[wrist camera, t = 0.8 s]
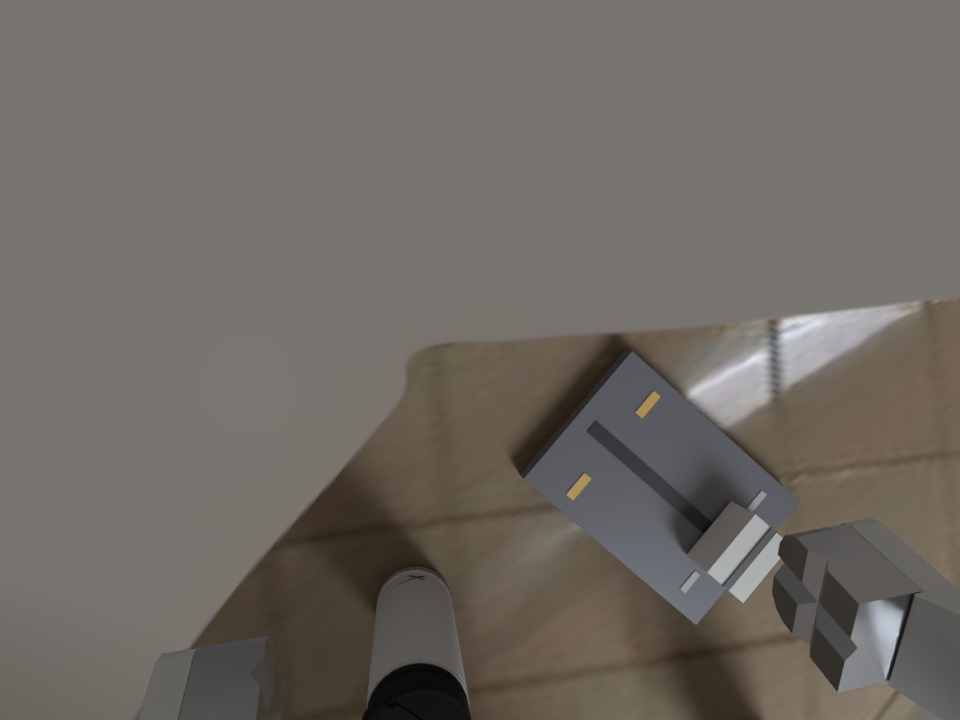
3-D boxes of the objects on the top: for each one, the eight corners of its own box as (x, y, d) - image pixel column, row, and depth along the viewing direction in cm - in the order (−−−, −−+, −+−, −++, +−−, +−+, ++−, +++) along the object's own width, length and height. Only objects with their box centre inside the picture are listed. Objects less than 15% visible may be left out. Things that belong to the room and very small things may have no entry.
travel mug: (404, 548, 57) (403, 666, 37) (465, 592, 57) (497, 731, 38) (358, 607, 56) (333, 758, 37) (421, 651, 57) (429, 822, 37)
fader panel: (785, 495, 60) (799, 501, 58) (686, 615, 60) (696, 625, 58) (624, 350, 58) (632, 351, 56) (519, 473, 57) (523, 479, 55)
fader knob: (764, 529, 58) (792, 545, 54) (719, 584, 57) (743, 604, 53) (731, 500, 57) (757, 514, 53) (685, 555, 57) (707, 573, 53)
